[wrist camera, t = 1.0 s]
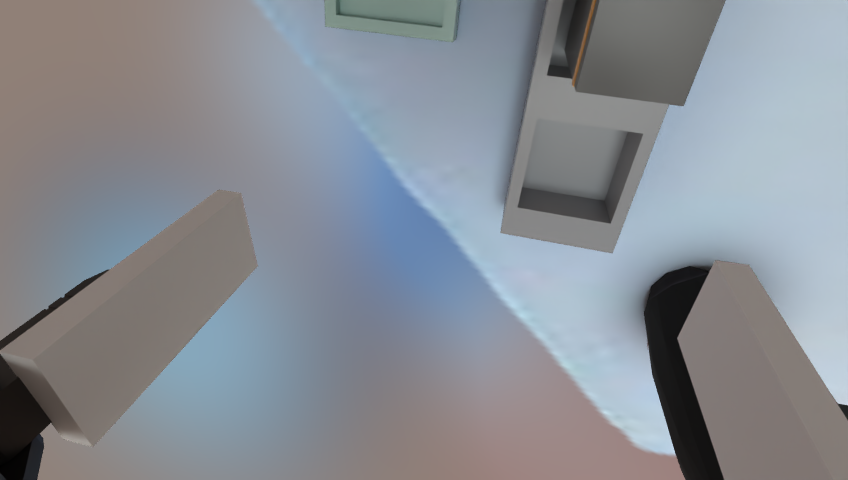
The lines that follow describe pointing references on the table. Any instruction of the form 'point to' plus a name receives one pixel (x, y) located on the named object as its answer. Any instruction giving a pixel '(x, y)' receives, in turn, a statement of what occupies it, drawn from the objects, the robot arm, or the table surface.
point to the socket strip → (599, 112)
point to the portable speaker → (679, 372)
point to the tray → (396, 17)
